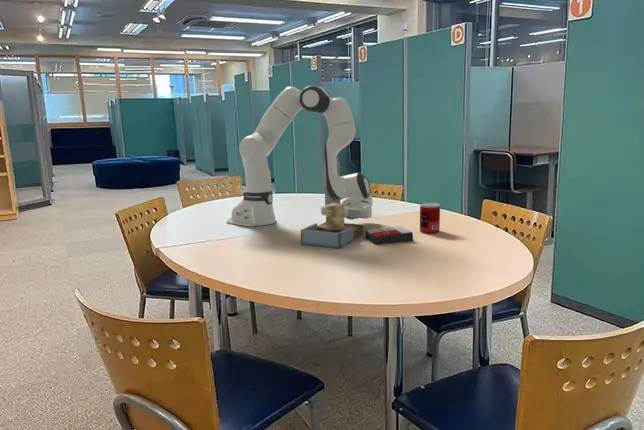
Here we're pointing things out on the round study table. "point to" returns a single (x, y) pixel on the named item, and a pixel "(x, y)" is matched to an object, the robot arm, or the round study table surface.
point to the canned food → (429, 218)
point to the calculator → (389, 235)
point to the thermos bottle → (327, 198)
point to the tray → (326, 237)
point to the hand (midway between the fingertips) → (338, 215)
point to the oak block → (335, 216)
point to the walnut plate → (356, 229)
